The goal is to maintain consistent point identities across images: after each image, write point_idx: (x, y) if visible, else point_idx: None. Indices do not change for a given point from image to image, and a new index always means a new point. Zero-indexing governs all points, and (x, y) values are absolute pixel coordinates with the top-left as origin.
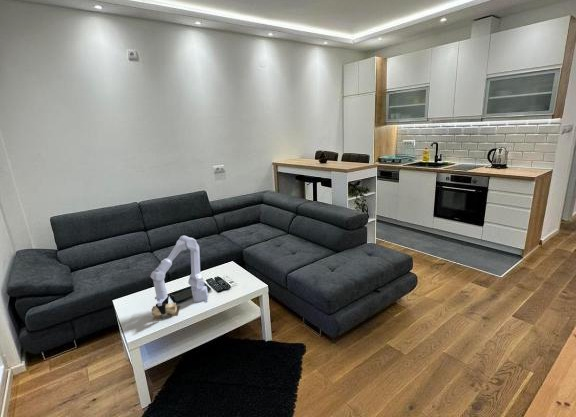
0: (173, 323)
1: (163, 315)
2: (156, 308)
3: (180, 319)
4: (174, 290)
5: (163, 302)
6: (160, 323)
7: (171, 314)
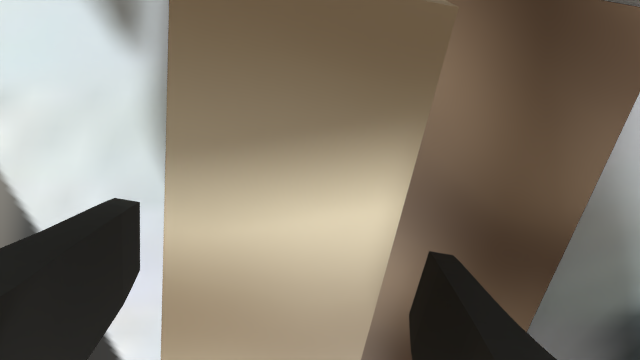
0: None
1: None
2: (219, 143)
3: (139, 351)
4: None
5: (468, 352)
6: (120, 90)
7: None
